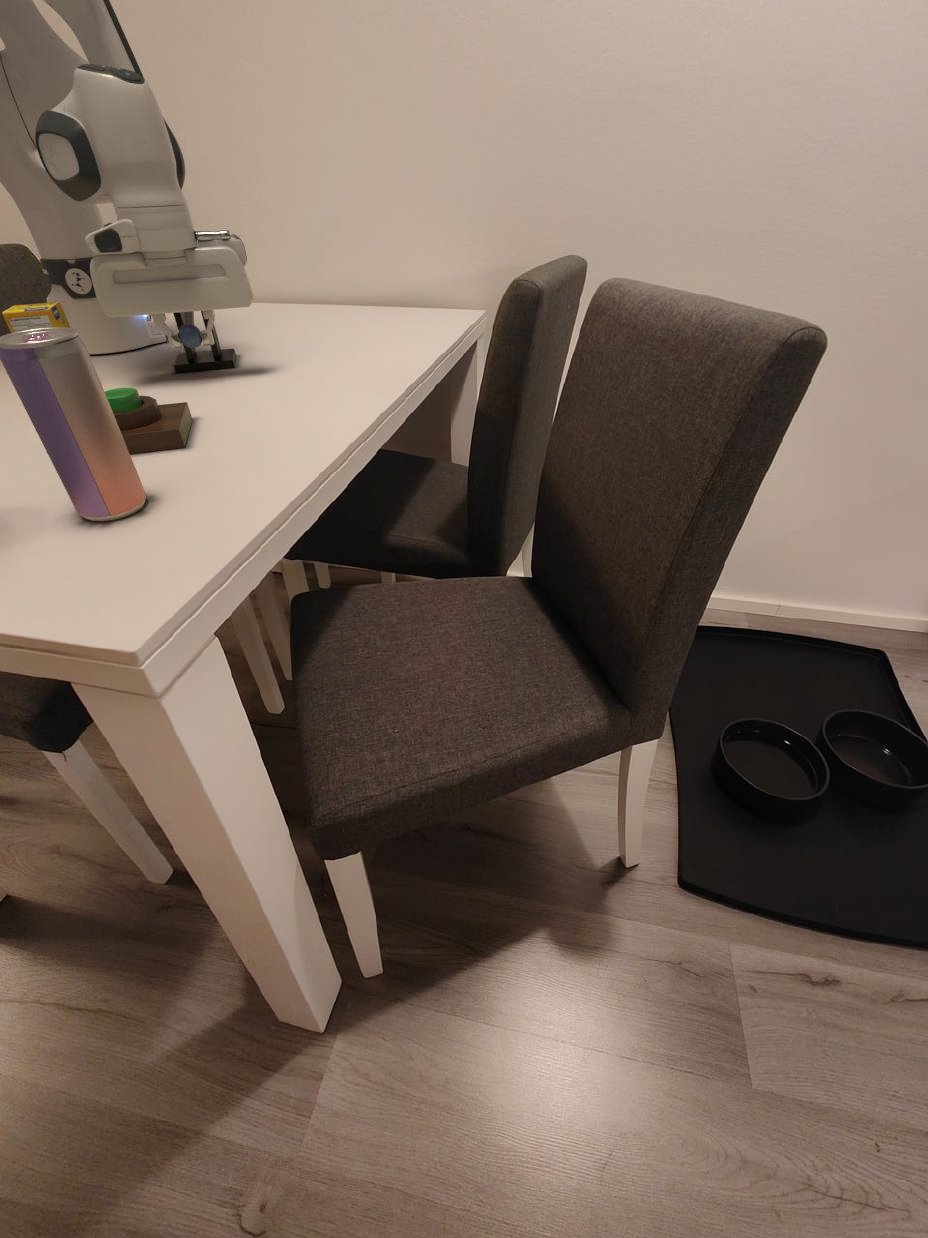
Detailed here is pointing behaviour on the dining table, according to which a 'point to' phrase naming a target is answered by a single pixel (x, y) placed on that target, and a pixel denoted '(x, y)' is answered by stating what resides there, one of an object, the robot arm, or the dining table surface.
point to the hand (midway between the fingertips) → (193, 345)
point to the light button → (123, 399)
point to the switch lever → (190, 332)
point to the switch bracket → (203, 353)
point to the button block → (154, 426)
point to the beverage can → (73, 420)
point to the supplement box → (35, 316)
